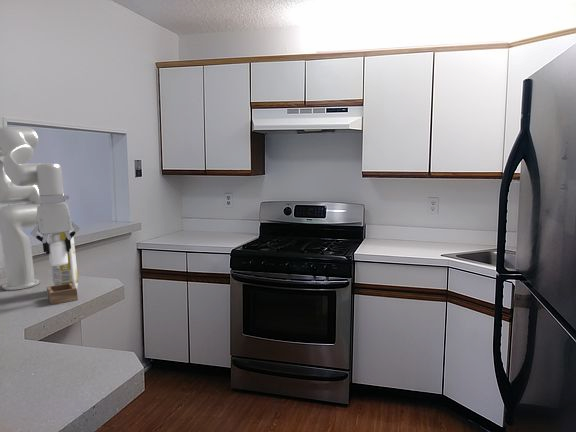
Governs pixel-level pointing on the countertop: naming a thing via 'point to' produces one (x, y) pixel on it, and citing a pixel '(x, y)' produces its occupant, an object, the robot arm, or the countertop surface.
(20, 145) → the robot arm
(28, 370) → the countertop surface
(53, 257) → the eye dropper bottle
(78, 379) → the countertop surface
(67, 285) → the bottle holder
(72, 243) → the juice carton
